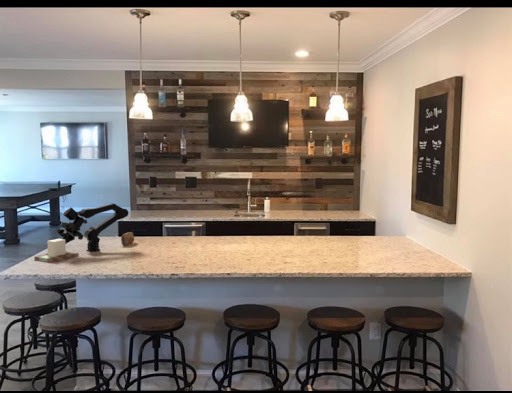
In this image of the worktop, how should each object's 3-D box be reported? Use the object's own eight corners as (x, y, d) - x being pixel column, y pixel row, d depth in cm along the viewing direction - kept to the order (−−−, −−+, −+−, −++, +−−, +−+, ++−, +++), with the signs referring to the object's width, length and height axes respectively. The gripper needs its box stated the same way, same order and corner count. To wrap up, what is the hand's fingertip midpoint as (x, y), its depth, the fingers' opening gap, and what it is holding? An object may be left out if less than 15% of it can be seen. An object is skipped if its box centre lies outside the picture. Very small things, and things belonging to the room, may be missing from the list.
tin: (124, 246, 304) (124, 234, 303) (120, 246, 304) (120, 234, 304) (134, 242, 318) (134, 231, 318) (130, 242, 319) (130, 230, 318)
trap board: (61, 253, 281) (61, 250, 281) (78, 256, 274) (78, 252, 274) (34, 259, 263) (34, 256, 263) (51, 262, 257) (51, 259, 257)
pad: (47, 258, 267) (47, 255, 267) (55, 259, 264) (55, 256, 264) (39, 260, 262) (38, 257, 261) (47, 261, 258) (46, 258, 258)
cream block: (58, 252, 273) (58, 238, 272) (65, 253, 271) (65, 239, 270) (47, 255, 266) (47, 240, 265) (54, 256, 264) (54, 241, 263)
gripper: (58, 216, 279) (43, 235, 270) (79, 218, 271) (64, 238, 262) (68, 226, 287) (54, 246, 278) (89, 229, 279) (75, 249, 270)
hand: (62, 244), depth 272 cm, fingers closed
